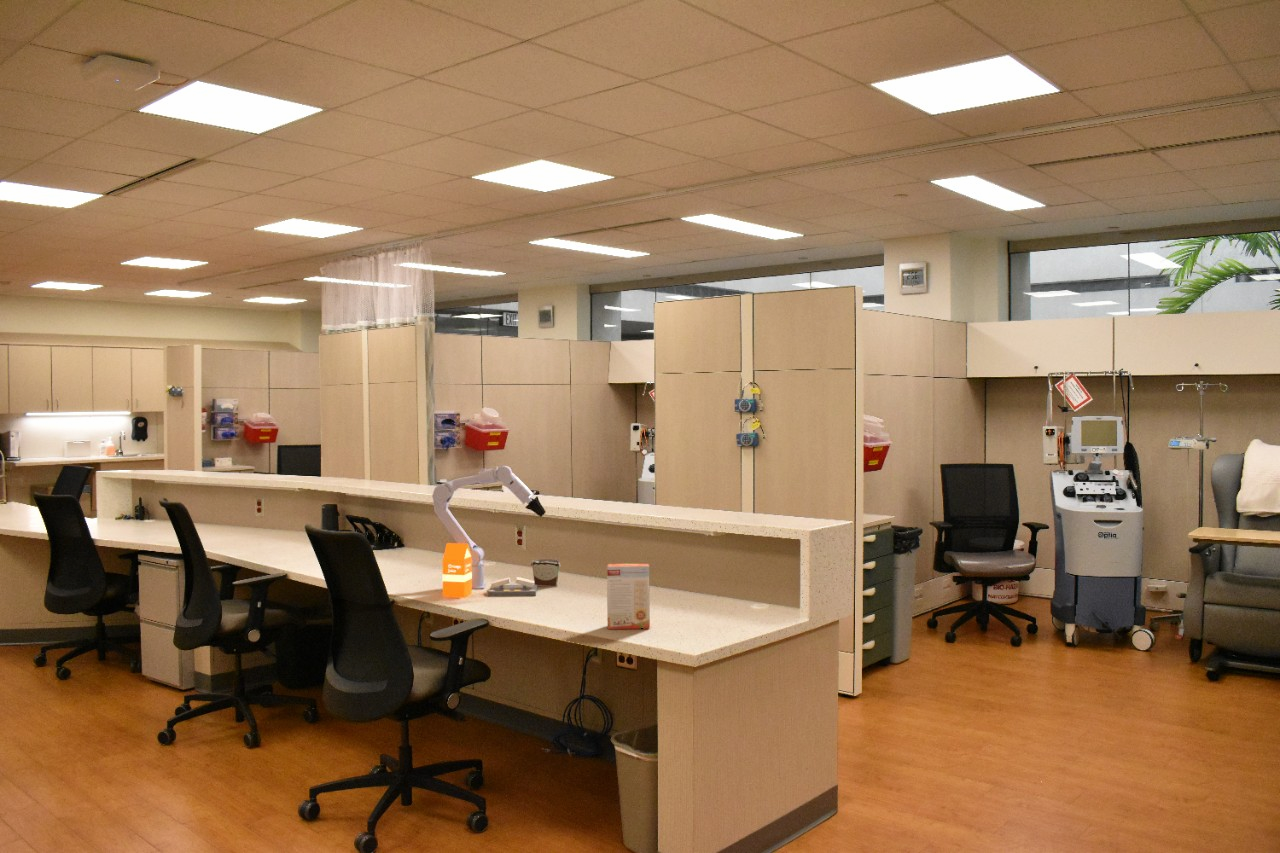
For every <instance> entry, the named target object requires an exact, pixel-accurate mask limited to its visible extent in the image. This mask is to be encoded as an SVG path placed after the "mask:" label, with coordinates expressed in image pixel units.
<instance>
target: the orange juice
mask: <svg viewBox="0 0 1280 853" xmlns="http://www.w3.org/2000/svg"><path fill="white" fill-rule="evenodd" d="M472 590H473V589H472V556H471V553H470V550H469V546H468V544H461V543H457V542H456V543H452V542H446V545H445V549H444V552H443V558H442V597H443V598H463V599H465V598H466V597H468V596H470V595H472V593H473V591H472Z"/></svg>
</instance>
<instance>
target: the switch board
mask: <svg viewBox="0 0 1280 853" xmlns="http://www.w3.org/2000/svg"><path fill="white" fill-rule="evenodd" d="M537 590H538V586H537V585H534V586H533V587H529V586H525V585H521V584H505V585H501V586H497V587H493V588H492V586H491V585H490V587H489V589H488V592H487V597H536V594H537V592H538V591H537Z"/></svg>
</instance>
